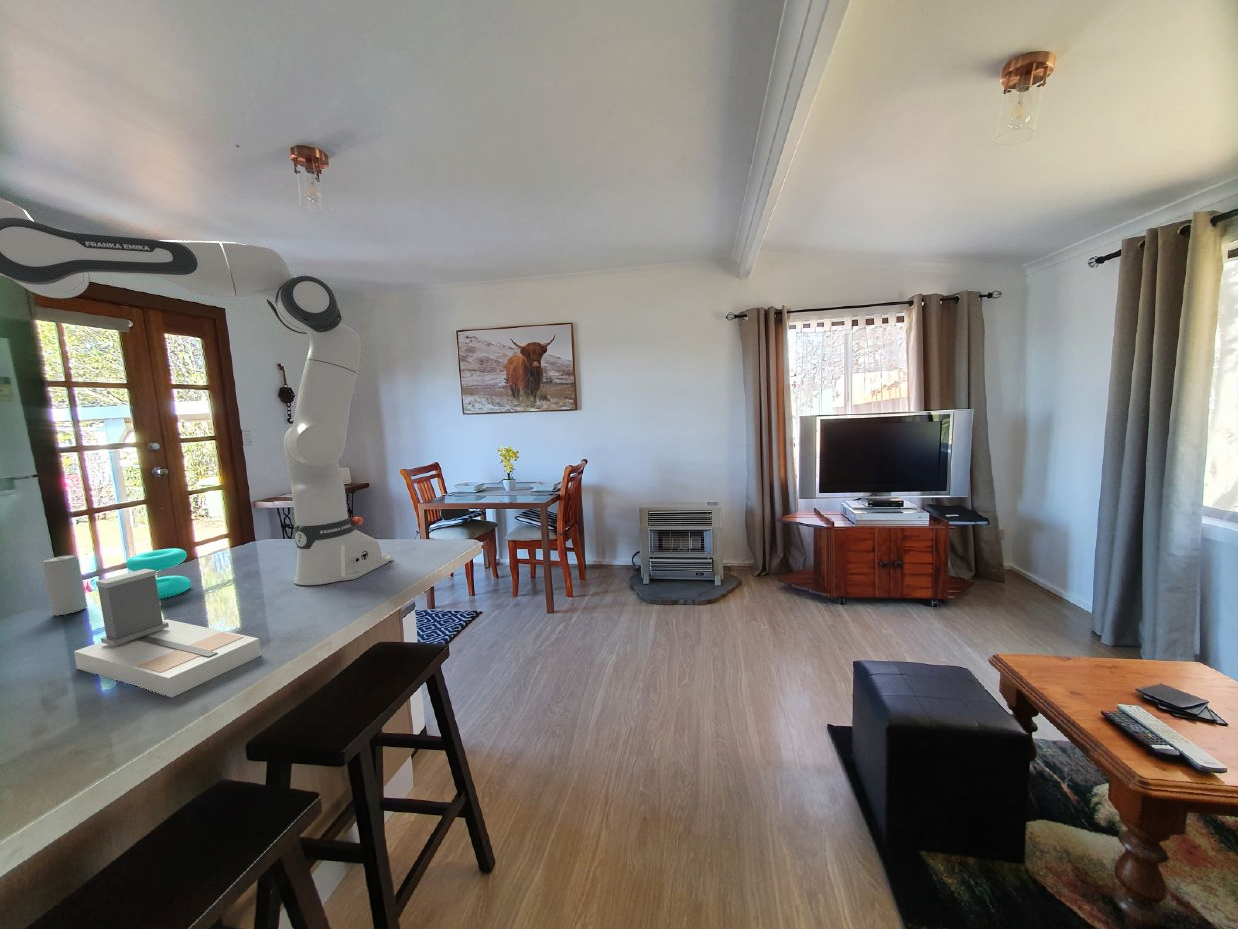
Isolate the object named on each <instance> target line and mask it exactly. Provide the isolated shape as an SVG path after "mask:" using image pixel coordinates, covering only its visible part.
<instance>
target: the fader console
mask: <svg viewBox="0 0 1238 929" xmlns="http://www.w3.org/2000/svg"><path fill="white" fill-rule="evenodd" d="M162 621H163V622H168V625H169V627H167V628H164V629H162V630H159V631H156V632H153V633H150V634H148V635H145V636H142V637H139V638H136V639H133V640H131V641H128V642H125V643H122V644H119V645H117V646H112V645H108V644H104V643H101V641H100V642H97V643H94V644H91V645H88V646H86V647H82V648H80V649H76V650H74V651H73V653H74V659H75V660H74V661H75V665H76V669H78V670H81V671H84V672H88V673H90V674H94V675H96V674H98V675H97V676H100V677H103V678H106V679H109V678H111V679H110V680H113V679H115V680H114V681H116V680H118V681H117V682H119V681H123V682H126V683H130V684H134V685H136V686H138V687H137V688H139V687H140V688H139V689H142V688H145V689H147V690H146V691H148V690H149V691H148V692H152V691H153V692H152V693H155V692H156V693H155V694H158V693H159V695H161V696H165V695H166V696H165V697H168V698H171V699H172V698H174V697H176V696H178V695H180V694H182V693H185V692H187V691H188V690H189V691H190V690H191V689H193V688H195V687H197V686H199V685H201V684H204V683H206V682H208V681H211V680H212V679H214V678H217V677H218V676H220V675H223V674H225V673H227V672H229V671H231V670H233V669H237V667H240V666H242V665H244V664H246V663H247V662H250V661H253V660H255V659H257V658H258V657H260V656H262V651H261V643H260V638H258V637H253V636H249V635H244V634H239V633H234V632H231V631H230V632H229V631H226V630H225V631H224V630H220V629H215V628H211V627H206V626H201V625H195V624H191V623H186V622H181V621H178V620H177V621H176V620H172V619H164V620H162ZM126 683H125V684H126ZM145 689H144V690H145Z"/></svg>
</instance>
